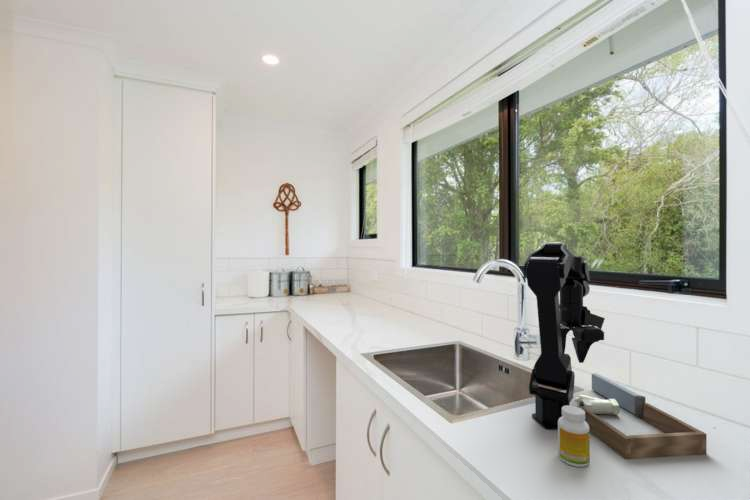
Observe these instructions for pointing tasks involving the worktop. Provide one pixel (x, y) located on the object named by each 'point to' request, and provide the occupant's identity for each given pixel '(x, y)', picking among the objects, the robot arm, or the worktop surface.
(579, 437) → the supplement bottle
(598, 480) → the worktop surface
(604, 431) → the rectangular wooden tray
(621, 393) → the grey rectangular bar
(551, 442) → the worktop surface
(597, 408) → the pipe fitting
